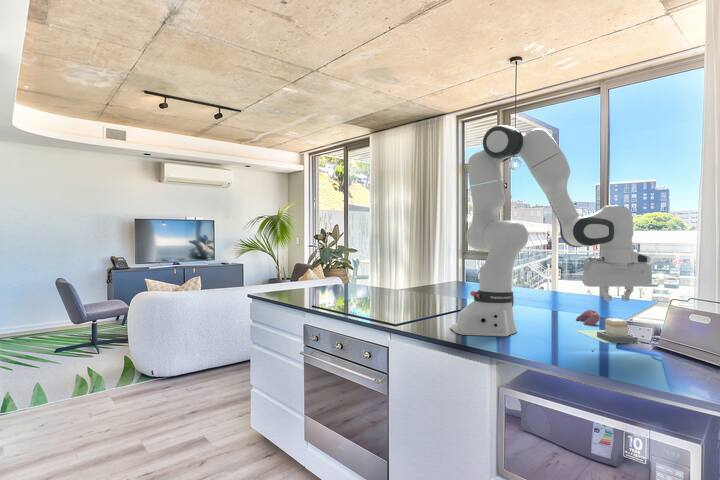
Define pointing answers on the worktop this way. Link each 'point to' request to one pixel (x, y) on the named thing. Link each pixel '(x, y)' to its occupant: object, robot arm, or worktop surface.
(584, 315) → the reddish-brown rounded lump
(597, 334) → the board
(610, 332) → the plug
